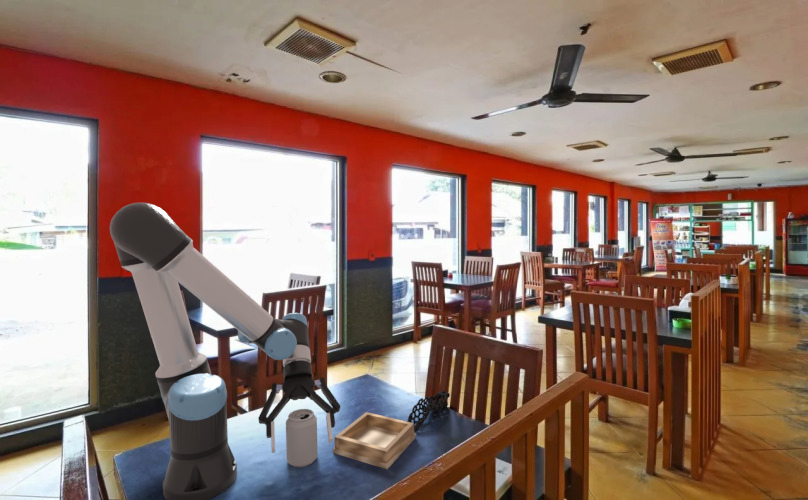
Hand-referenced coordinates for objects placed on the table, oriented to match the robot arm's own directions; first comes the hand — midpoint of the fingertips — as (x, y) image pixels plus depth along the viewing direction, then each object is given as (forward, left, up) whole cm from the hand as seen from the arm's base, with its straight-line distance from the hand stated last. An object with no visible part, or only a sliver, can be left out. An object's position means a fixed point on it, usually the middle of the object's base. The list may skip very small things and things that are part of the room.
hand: (302, 446), depth 98 cm
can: (-2, +2, -5) cm, 6 cm away
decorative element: (+18, +37, -5) cm, 42 cm away
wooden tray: (+11, +16, -5) cm, 20 cm away
